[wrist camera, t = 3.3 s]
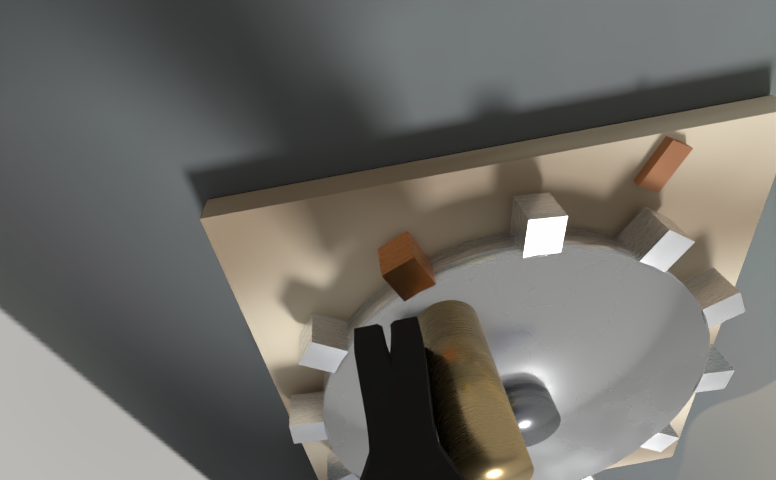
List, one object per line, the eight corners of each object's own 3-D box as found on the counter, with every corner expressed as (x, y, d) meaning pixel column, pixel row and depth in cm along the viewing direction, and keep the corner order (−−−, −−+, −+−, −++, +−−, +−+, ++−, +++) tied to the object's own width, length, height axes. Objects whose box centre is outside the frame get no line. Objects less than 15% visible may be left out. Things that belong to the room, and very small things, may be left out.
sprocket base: (660, 437, 23) (676, 462, 22) (336, 497, 23) (336, 526, 22) (771, 95, 13) (809, 111, 12) (207, 199, 13) (197, 225, 12)
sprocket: (749, 391, 19) (882, 544, 15) (429, 524, 23) (456, 681, 18) (659, 80, 11) (890, 202, 7) (189, 360, 15) (129, 564, 10)
